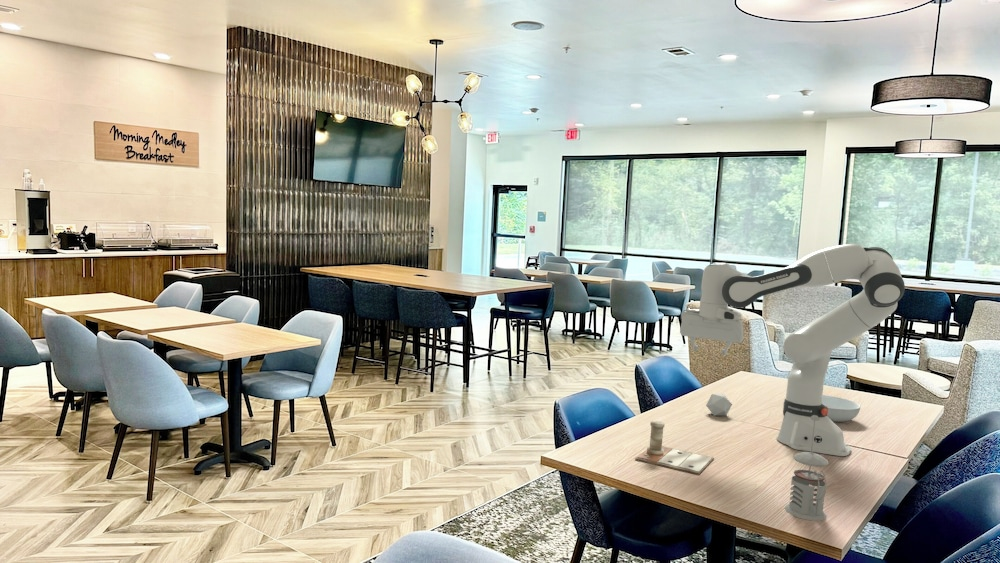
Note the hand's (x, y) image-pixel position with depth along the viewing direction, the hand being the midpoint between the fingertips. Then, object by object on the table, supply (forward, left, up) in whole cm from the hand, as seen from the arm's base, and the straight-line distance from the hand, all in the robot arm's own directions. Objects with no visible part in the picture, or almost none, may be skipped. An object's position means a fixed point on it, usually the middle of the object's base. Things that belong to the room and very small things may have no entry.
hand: (709, 352), depth 228 cm
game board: (+1, +28, -29) cm, 40 cm away
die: (+3, -35, -29) cm, 46 cm away
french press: (-38, +46, -29) cm, 66 cm away
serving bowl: (-33, -61, -29) cm, 75 cm away
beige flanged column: (+7, +28, -28) cm, 41 cm away
